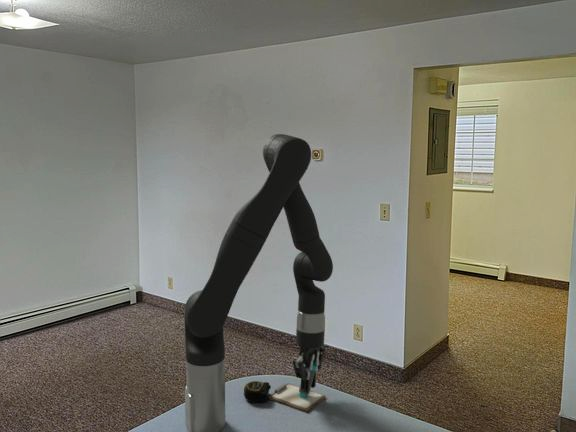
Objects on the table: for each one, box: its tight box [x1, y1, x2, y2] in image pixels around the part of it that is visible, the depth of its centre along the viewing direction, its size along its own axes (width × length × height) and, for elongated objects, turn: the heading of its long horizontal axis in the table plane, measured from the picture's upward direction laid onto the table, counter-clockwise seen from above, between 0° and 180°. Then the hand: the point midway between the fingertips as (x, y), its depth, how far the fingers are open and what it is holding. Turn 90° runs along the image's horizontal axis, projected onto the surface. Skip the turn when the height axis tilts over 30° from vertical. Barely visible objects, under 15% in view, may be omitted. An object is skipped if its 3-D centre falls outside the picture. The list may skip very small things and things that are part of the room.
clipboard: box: [267, 383, 327, 414], centre depth 135 cm, size 12×10×2 cm
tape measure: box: [243, 380, 272, 403], centre depth 135 cm, size 7×7×4 cm
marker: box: [299, 364, 317, 398], centre depth 134 cm, size 3×3×9 cm
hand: (308, 388), depth 134 cm, fingers closed on marker, 3 cm apart
